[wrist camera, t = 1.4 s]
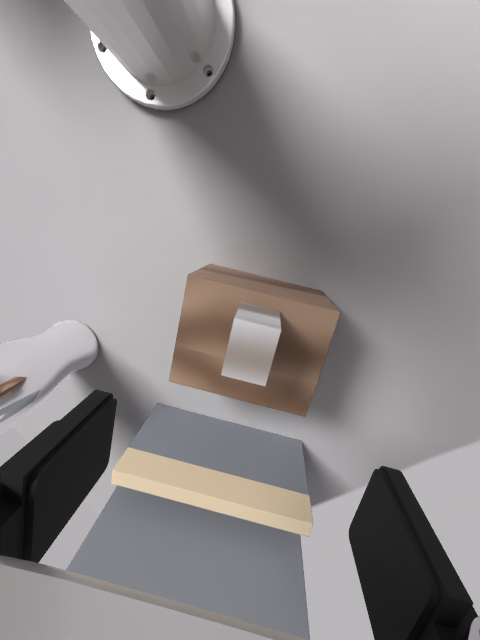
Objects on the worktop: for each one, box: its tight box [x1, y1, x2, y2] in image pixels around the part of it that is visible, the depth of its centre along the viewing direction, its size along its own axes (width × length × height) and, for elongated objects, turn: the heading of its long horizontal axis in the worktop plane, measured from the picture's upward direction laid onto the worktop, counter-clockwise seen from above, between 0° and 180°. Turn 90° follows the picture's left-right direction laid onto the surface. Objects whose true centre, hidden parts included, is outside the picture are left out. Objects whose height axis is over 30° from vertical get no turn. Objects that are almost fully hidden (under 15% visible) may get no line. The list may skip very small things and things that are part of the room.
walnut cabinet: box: [169, 264, 341, 417], centre depth 27 cm, size 9×12×14 cm
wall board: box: [66, 403, 313, 640], centre depth 27 cm, size 6×18×22 cm, turn 77°
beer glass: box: [0, 320, 98, 435], centre depth 29 cm, size 7×7×15 cm
